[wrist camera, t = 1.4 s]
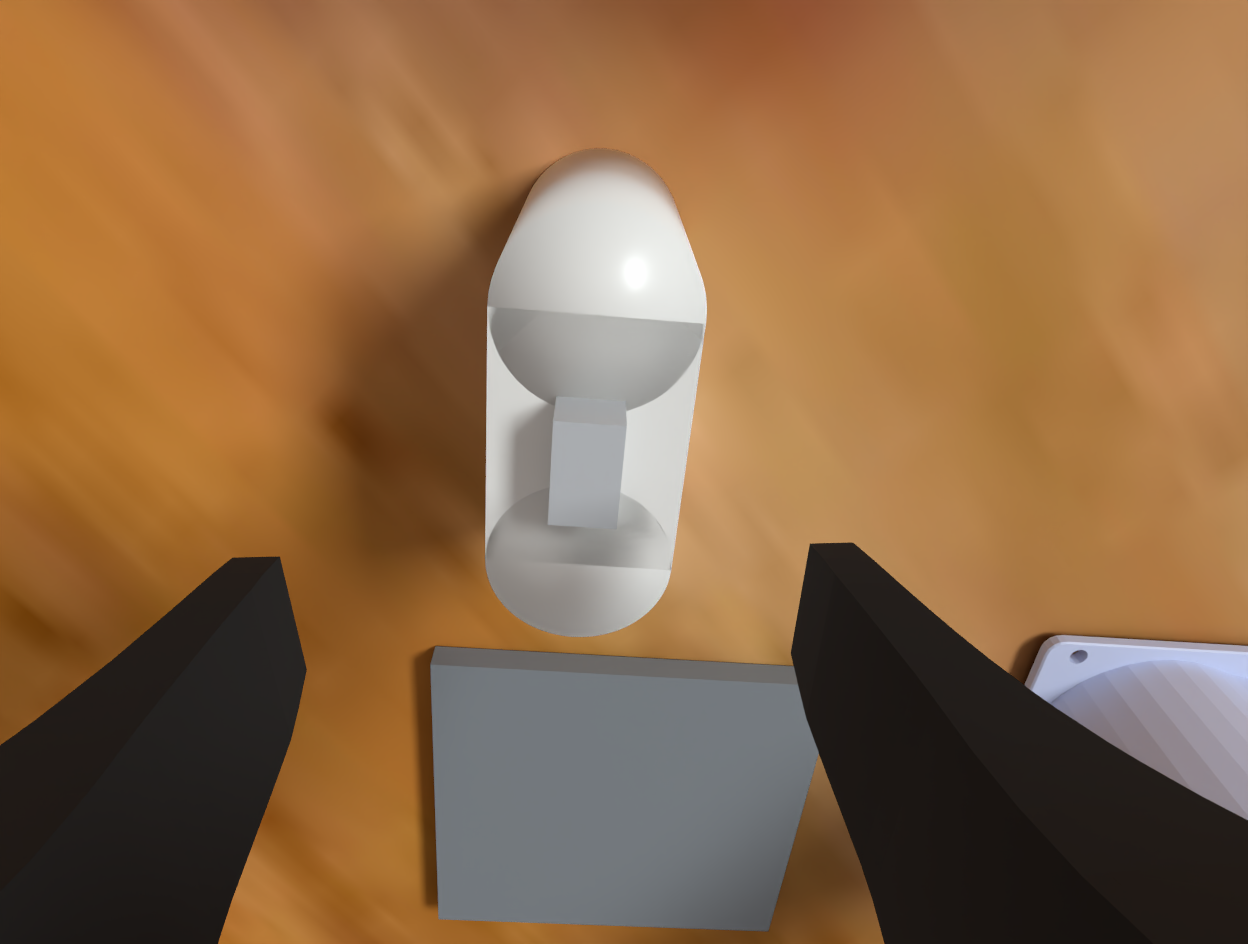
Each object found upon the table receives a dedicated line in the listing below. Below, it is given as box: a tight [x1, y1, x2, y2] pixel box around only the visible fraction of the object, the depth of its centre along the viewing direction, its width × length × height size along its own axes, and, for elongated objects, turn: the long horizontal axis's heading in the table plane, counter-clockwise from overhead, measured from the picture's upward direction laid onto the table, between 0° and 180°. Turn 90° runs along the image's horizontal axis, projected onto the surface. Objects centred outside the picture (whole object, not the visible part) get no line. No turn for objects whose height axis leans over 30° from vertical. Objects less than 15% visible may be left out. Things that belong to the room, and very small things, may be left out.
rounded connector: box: [485, 148, 707, 637], centre depth 17 cm, size 4×9×7 cm, turn 175°
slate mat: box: [430, 646, 819, 931], centre depth 27 cm, size 12×12×1 cm
